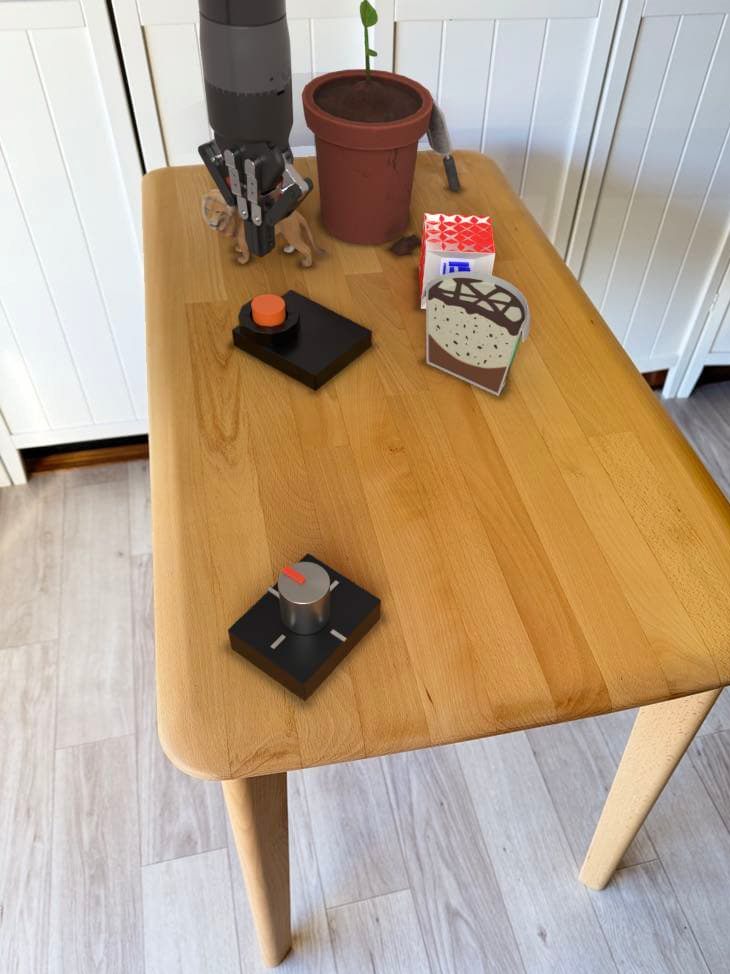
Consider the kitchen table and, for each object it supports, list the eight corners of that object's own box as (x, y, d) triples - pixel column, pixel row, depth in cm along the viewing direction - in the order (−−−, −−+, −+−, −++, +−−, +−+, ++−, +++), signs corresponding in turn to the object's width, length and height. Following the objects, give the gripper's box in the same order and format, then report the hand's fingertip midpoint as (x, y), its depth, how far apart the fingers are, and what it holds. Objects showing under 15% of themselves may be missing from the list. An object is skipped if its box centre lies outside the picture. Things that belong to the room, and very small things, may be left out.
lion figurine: (208, 270, 100) (197, 201, 93) (208, 246, 104) (198, 178, 96) (327, 267, 102) (326, 200, 95) (324, 244, 105) (322, 176, 98)
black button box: (314, 392, 88) (313, 363, 85) (230, 345, 92) (226, 316, 89) (371, 346, 93) (372, 317, 90) (290, 304, 97) (288, 274, 94)
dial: (340, 610, 67) (340, 576, 63) (308, 643, 65) (307, 610, 61) (303, 585, 68) (300, 551, 64) (271, 617, 66) (266, 583, 62)
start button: (270, 331, 88) (269, 318, 87) (245, 318, 89) (244, 304, 88) (292, 316, 90) (291, 302, 89) (267, 303, 91) (266, 289, 90)
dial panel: (306, 703, 65) (304, 684, 62) (230, 648, 68) (226, 627, 65) (381, 619, 70) (382, 599, 68) (308, 572, 73) (306, 550, 70)
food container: (536, 372, 92) (554, 296, 84) (510, 401, 89) (527, 325, 81) (442, 331, 96) (452, 255, 88) (415, 357, 92) (422, 281, 84)
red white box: (481, 274, 103) (490, 216, 97) (485, 311, 99) (495, 253, 92) (418, 271, 103) (423, 212, 97) (420, 308, 98) (425, 249, 92)
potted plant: (307, 182, 115) (300, -23, 95) (459, 187, 117) (482, -14, 97) (304, 253, 104) (296, 37, 84) (472, 257, 106) (502, 47, 86)
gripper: (159, 59, 70) (187, 243, 83) (276, 108, 66) (286, 293, 79) (221, 35, 74) (238, 214, 87) (335, 80, 70) (334, 261, 83)
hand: (261, 251), depth 83 cm, fingers closed
